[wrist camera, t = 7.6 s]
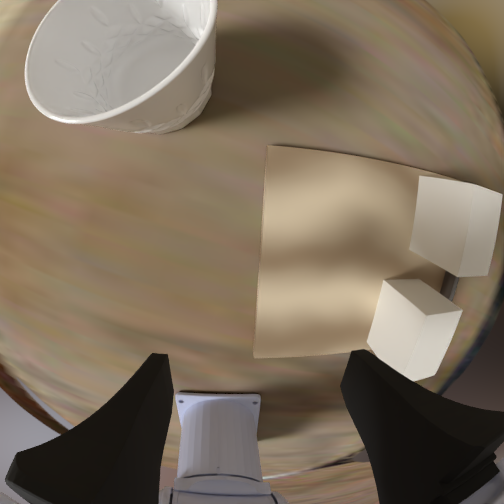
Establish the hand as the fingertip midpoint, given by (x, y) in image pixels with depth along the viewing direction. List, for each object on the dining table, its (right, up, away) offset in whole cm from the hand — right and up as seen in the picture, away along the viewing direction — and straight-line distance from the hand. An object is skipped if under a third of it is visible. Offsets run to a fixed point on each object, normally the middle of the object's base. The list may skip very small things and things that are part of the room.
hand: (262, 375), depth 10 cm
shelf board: (+9, +4, +11) cm, 14 cm away
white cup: (-6, +16, +6) cm, 18 cm away
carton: (+12, 0, +11) cm, 16 cm away
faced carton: (+14, +8, +9) cm, 19 cm away
